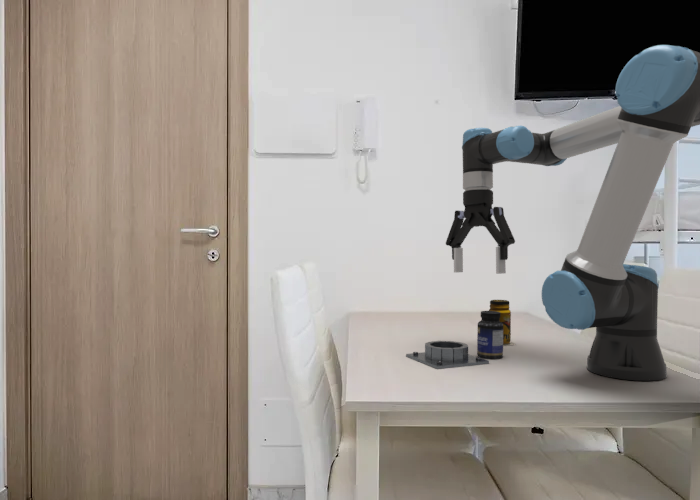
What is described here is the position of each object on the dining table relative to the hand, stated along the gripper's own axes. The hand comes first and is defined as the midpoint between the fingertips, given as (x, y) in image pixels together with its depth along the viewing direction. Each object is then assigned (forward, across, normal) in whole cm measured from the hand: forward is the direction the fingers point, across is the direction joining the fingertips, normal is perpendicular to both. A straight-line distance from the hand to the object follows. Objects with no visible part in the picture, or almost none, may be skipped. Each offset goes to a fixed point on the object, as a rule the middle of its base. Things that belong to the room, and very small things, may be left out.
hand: (478, 273), depth 133 cm
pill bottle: (+20, -5, +2) cm, 21 cm away
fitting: (+20, -1, +14) cm, 25 cm away
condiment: (+20, +5, -14) cm, 25 cm away
